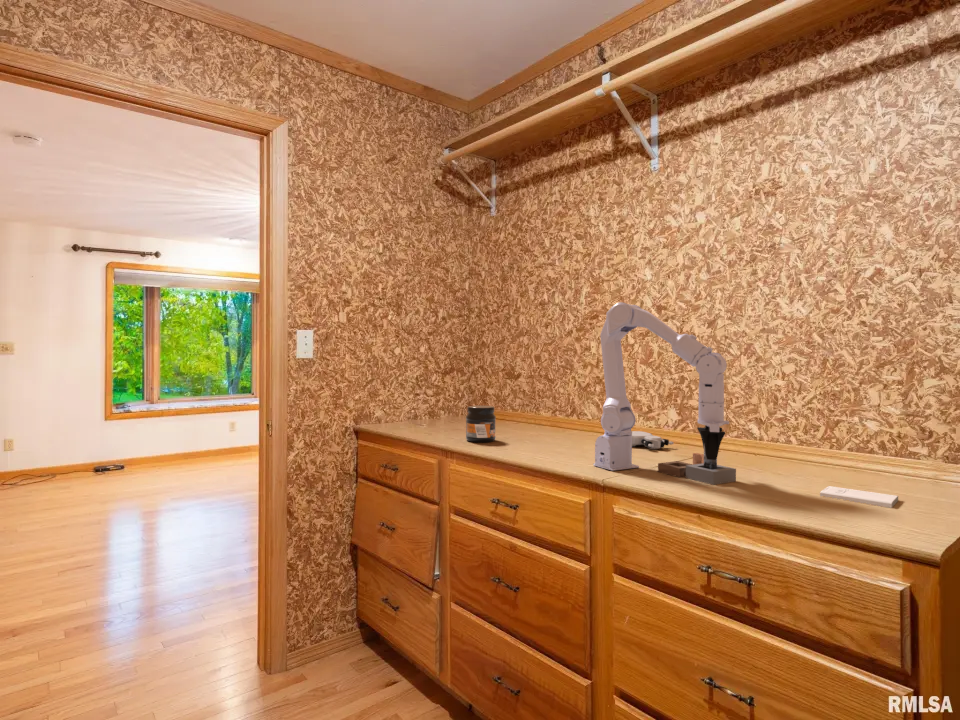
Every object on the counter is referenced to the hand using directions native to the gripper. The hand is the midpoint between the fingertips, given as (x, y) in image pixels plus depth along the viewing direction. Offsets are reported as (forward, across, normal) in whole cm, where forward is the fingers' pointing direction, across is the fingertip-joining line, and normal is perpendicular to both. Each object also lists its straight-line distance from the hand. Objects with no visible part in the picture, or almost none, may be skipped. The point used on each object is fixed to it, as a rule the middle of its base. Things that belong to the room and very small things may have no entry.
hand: (710, 458), depth 130 cm
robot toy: (+6, +44, +15) cm, 47 cm away
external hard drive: (+6, -8, -28) cm, 30 cm away
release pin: (+5, +9, +3) cm, 10 cm away
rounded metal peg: (+3, 0, 0) cm, 3 cm away
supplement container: (+5, +38, +70) cm, 80 cm away
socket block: (+5, +5, +7) cm, 10 cm away
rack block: (+5, 0, 0) cm, 5 cm away
